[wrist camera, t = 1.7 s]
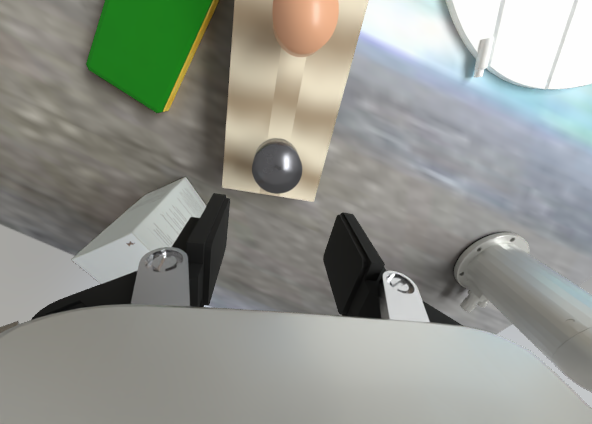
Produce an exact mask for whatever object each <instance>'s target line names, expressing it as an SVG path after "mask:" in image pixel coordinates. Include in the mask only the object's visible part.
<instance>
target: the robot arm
mask: <svg viewBox="0 0 592 424" xmlns="http://www.w3.org/2000/svg"><path fill="white" fill-rule="evenodd" d="M229 206H230V199H229V198H226V195H222V194H215V193H214V194H213V195H212V197H211V199H210V201H209V203H208V204H207V206H206V208H205V210H204V212H203V213H202V215H201V217H200V218H197V217H190V219H189V220H188V222H187V223H186V225H185V226H184V228H183V230H182V231H181V233H180V234H179V236H178V237H177V239H176V241H175V242H174V244H173V245H172V247H163V248H158V249H155V250H152V251H150V252H148V253H146V254H145V255H144V256H143V257H142V258H141V260H140V262H139V266H138V271H135V272H132V273H130V274H127V275H124V276H121V277H119V278H116V279H113V280H111V281H108V282H105V283H103V284H100V285H97V286H95V287H92V288H90V289H87V290H84V291H81V292H79V293H76V294H73V295H71V296H68V297H65V298H63V299H60V300H58V301H56V302H53V303H52V304H49V305H48V306H46V307H45V308H43V309H42V310H40V311H39V312H38V313H37V314H36V315H35V316H34V317H33V318H32V320H30V321H27V322H24V323H21V324H19V322H18V321H17V322H14V323H11V324H8V325H5V326H2V327H0V424H592V408H591V407H590V406H589V405H588V404H587V403H586V402H585V401H584V400H583V399H582V398H581V397H580V396H579V395H578V394H577V393H576V392H575V391H574V390H573V389H572V388H571V387H569V386H568V385H567V384H566V383H565V382H564V381H563V380H562V379H561V378H560V377H559V376H558V375H557V374H556V373H555V372H554V371H553V370H552V369H550V368H549V367H548V366H547V365H546V364H545V363H544V362H543V361H542V360H540V359H539V358H538V357H537V356H536V355H534V354H533V353H532V352H531V351H529V350H528V349H526V348H524V347H522V346H521V345H519V344H517V343H515V342H513V341H510V340H508V339H506V338H503V337H501V336H498V335H496V334H493V333H490V332H487V331H483V330H480V329H476V328H471V327H466V326H463V325H461V324H459V323H458V322H456V321H455V320H453V319H451V318H450V317H448V316H446V315H445V314H443V313H441V312H440V311H438V310H437V309H435V308H433V307H432V306H430V305H428V304H427V303H425V302H424V301H422V299H421V296H420V293H419V290H418V288H417V286H416V284H415V283H414V282H413V281H412V280H411V279H410V278H408V277H407V276H405V275H403V274H401V273H399V272H396V271H386V269H385V268H384V265H385V264H384V262H383V261H382V259H381V258H380V256H379V254H378V253H377V251H376V250H375V248H374V246H373V245H372V243H371V242H370V240H369V239H368V237H367V235H366V234H365V232H364V231H363V229H362V227H361V226H360V224H359V223H358V221H357V220H356V218H355V216H354V215H353V214H348V213H341V215H337V217H336V220H335V223H334V226H333V229H332V232H331V235H330V238H329V241H328V244H327V247H326V250H325V253H324V258H323V260H324V264H325V268H326V271H327V275H328V278H329V281H330V285H331V288H332V292H333V295H334V299H335V302H336V305H337V309H338V312H339V314H342V316H336V315H321V314H306V313H291V312H275V311H259V310H242V309H226V308H209V307H204V305H209V303H210V300H211V297H212V293H213V290H214V286H215V283H216V280H217V276H218V273H219V269H220V266H221V263H222V259H223V256H224V252H225V248H226V240H227V229H228V217H229ZM454 276H455V278H456V280H457V281H458V282H459V284H460V285H461V286H463V287H464V288H467V289H469V291H468V294H469V295H468V296H467V298H465V299H464V301H463V302H462V303H461V305H460V306H461V307H462V309H464V310H465V311H467V312H472V311H473V310H474V308H475V307H476V306H477V304H478V305H479V306H481V307H483V308H484V307H485V306H486V305H487V304H488V303H489V301H490V302H491V303H492V304H493V305H494V306H495V307H496V308H497V309H498V310H499V311H500V312H501V313H502V314H503V315H504V316H505V317H506V318H507V319H508V320H509V321H510V322H511V323H512V324H513V325H515V326H516V327H517V328H518V329H519V330H520V331H521V332H522V333H523V334H524V335H525V336H526V337H527V338H528V339H529V340H530V341H531V342H532V343H533V344H534V345H535V346H536V347H537V348H538V349H539V350H540V351H541V352H542V353H543V354H544V355H545V356H546V357H547V358H548V359H549V360H550V361H551V362H552V363H553V364H554V365H555V366H556V367H557V368H558V369H559V370H560V371H561V372H562V373H563V374H564V375H565V376H567V377H568V378H569V379H570V380H572V381H573V382H575V383H576V384H577V385H579V386H580V387H582V388H584V389H586V390H588V391H590V392H592V295H591V294H590V293H588V292H586V291H585V290H583V289H582V288H580V287H579V286H577V285H576V284H574V283H573V282H571V281H570V280H568V279H567V278H565V277H563V276H562V275H560V274H559V273H557V272H556V271H554V270H553V269H551V268H550V267H548V266H547V265H545V264H543V263H542V262H540V261H539V260H537V259H536V258H534V257H533V256H531V255H530V254H529V245H528V243H527V241H526V240H525V239H523V238H522V237H520V236H519V235H517V234H514V233H509V232H502V233H496V234H493V235H489V236H487V237H484V238H482V239H480V240H478V241H477V242H475V243H474V244H472V245H471V246H470V247H468V248H467V249H466V250H465V251H464V252H463V253H462V255H461V256H460V257H459V259H458V261H457V262H456V265H455V268H454Z"/></svg>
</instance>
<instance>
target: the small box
mask: <svg viewBox="0 0 592 424" xmlns="http://www.w3.org/2000/svg"><path fill="white" fill-rule="evenodd" d="M205 208H206V205H205V203H204V202H203V201H202V199H201V198H200V196H199V195H198V193H197V192H196V191H195V189H194V188H193V186H192V185H191V184H190V182H189V181H188V179H187V178H186V177H184V178H182V179H179V180H177V181H175V182H173V183H171V184H168V185H166V186H164V187H162V188H159V189H157V190H155V191H153V192H150V193H148V194H146V195H144V196H143V197H142V198H141V199H140V200H138V201H137V202H136V203H135V204H134V205H133V206H131V207H130V208H129V209H128V210H127V211H126V212H124V213H123V214H122V215H121V216H120V217H119V218H118V219H117V220H115V221H114V222H113V223H112V224H111V225H110V226H108V227H107V228H106V229H105V230H104V231H103V232H102V233H100V234H99V235H98V236H97V237H96V238H95V239H94V240H92V241H91V242H90V243H89V244H88V245H87V246H86V247H85V248H83V249H82V250H81V251H80V252H79V253H78V254H77V255H76V256H74V257H73V258H72V259H71V260H72V261H73V262H75V264H77V265H78V266H79V267H80V268H82V269H83V270H84V271H86V272H87V273H88V274H89V275H90V276H92V277H93V278H94V279H95V280H96V281H98V282H99V283H100V284H103V283H105V282H108V281H111V280H113V279H116V278H119V277H121V276H124V275H127V274H130V273H132V272H135V271H138V266H139V262H140V260H141V258H142V257H143V256H144V255H145V254H146V253H148V252H150V251H152V250H155V249H158V248H163V247H172V245H173V244H174V242H175V241H176V239H177V237H178V236H179V234H180V233H181V231H182V230H183V228H184V226H185V225H186V223H187V222H188V220H189V219H190V217H197V218H200V217H201V215H202V213H203V212H204V210H205Z"/></svg>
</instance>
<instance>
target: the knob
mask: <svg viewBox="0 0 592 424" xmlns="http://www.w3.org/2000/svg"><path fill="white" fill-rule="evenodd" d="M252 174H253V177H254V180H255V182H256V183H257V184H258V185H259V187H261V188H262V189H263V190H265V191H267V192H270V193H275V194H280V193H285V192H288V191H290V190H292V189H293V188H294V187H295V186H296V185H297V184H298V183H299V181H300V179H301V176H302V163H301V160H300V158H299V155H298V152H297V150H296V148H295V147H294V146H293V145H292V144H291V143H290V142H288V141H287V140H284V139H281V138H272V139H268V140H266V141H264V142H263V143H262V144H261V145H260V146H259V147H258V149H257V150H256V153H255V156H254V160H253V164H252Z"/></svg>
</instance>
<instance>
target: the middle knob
mask: <svg viewBox="0 0 592 424" xmlns="http://www.w3.org/2000/svg"><path fill="white" fill-rule="evenodd" d="M338 15H339V3H338V0H273V7H272V21H273V30H274V34H275V37H276V39H277V41H278V43H279V45H280V46H281V47H282V49H283V50H284V51H286V52H287V53H288V54H290V55H292V56H295V57H307V56H310V55H312V54H314V53H315V52H316V51H318V50H319V49H320V48H321V47H322V46H324V45H325V44H326V43H327V42H328V41H329V39H330V38H331V36H332V35H333V33H334V30H335V28H336V25H337V21H338Z"/></svg>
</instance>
